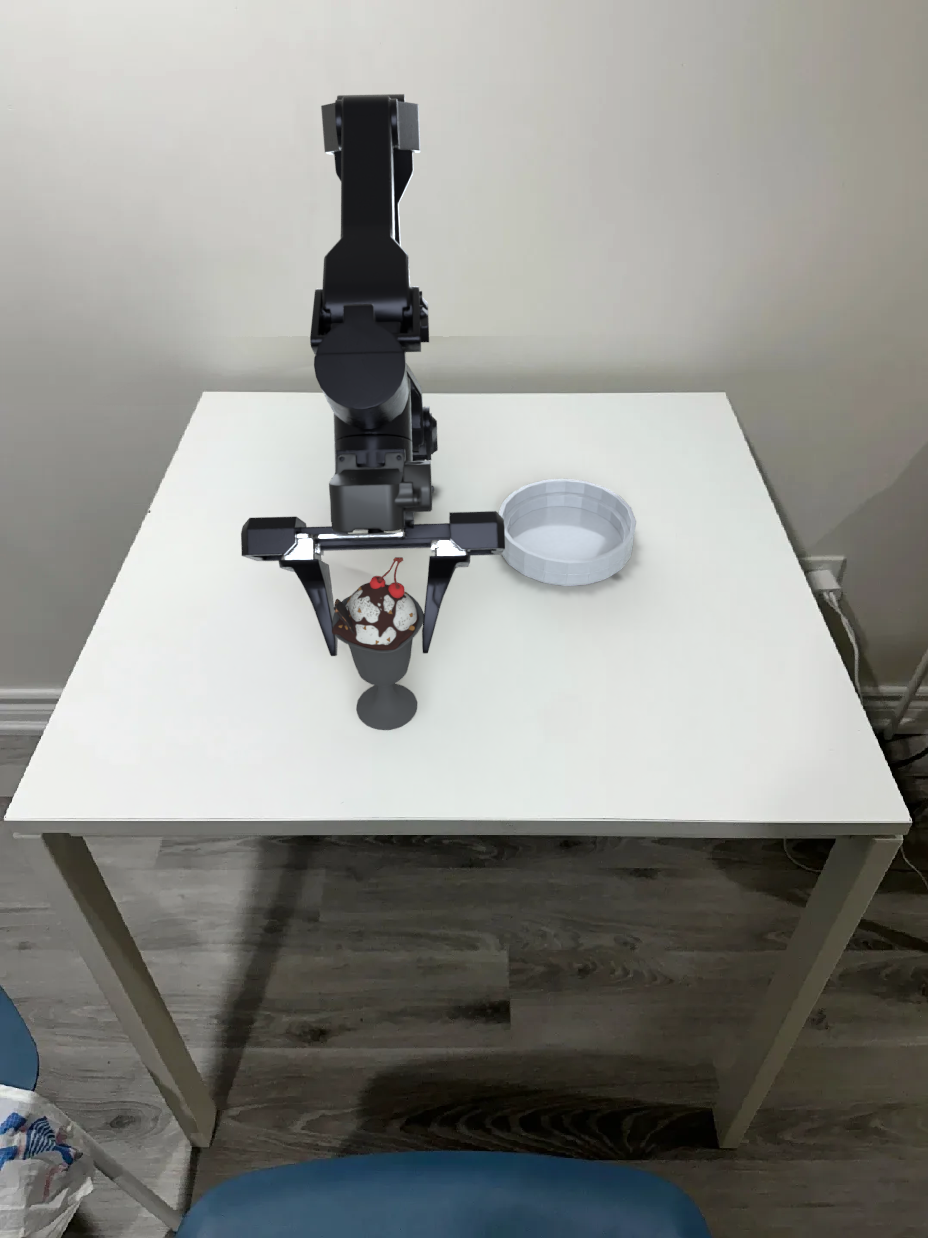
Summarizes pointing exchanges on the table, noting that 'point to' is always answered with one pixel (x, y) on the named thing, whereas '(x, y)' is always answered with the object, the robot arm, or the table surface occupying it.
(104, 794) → the table surface
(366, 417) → the robot arm
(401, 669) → the sundae
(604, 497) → the pan
